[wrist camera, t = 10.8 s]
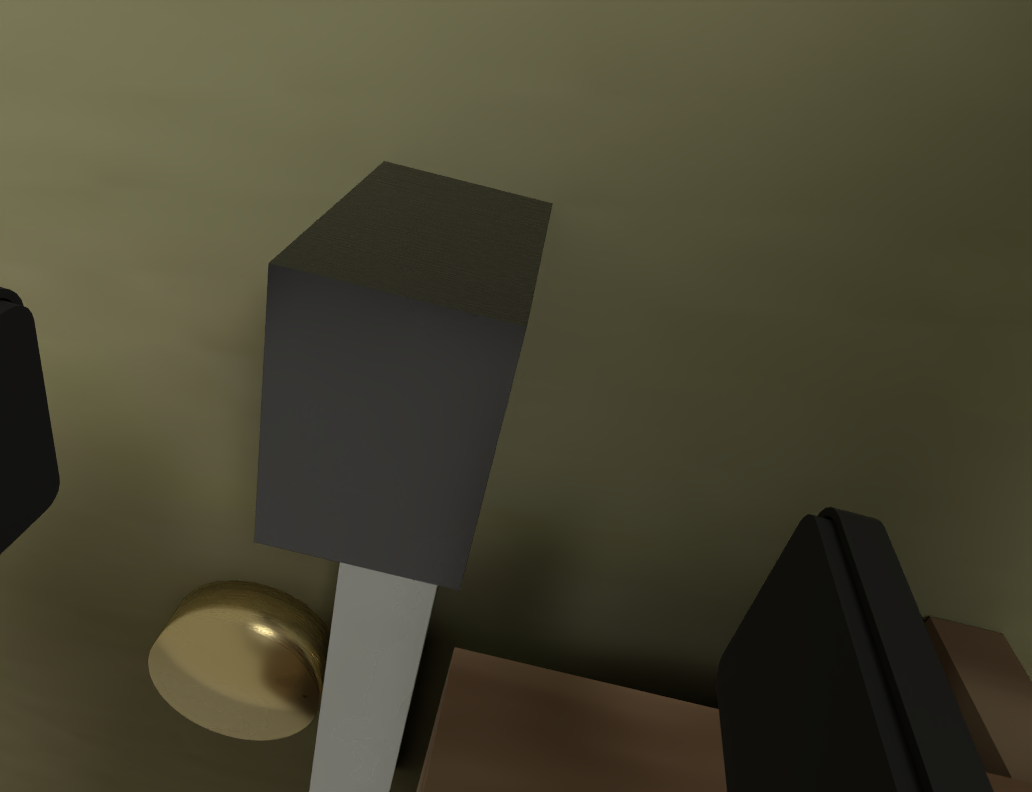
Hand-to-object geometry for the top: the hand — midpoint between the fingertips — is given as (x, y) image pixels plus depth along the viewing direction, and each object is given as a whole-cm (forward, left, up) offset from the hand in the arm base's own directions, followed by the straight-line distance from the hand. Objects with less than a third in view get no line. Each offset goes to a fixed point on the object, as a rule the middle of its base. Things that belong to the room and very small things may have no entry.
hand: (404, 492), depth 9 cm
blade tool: (+8, -1, -8) cm, 11 cm away
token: (+14, -5, -8) cm, 16 cm away
